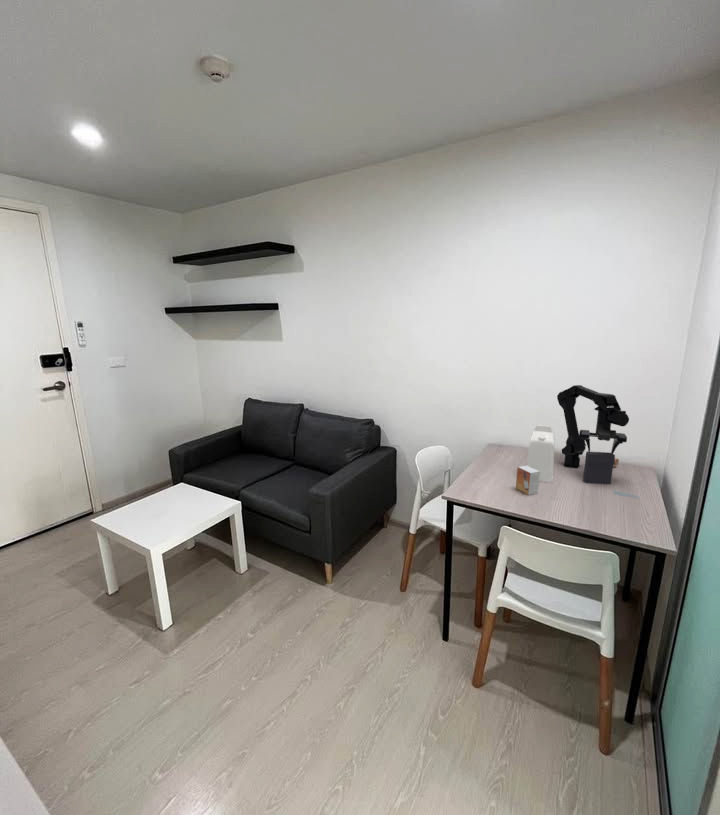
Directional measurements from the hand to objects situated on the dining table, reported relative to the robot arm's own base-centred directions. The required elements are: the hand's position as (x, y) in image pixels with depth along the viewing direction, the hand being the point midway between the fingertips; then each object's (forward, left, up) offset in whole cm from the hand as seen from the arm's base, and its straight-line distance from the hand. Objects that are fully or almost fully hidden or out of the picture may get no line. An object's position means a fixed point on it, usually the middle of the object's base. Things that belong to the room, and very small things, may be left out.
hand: (600, 453), depth 188 cm
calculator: (-1, -6, -13) cm, 15 cm away
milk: (-25, -9, -13) cm, 30 cm away
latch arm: (-4, +3, -13) cm, 14 cm away
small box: (-29, -29, -13) cm, 43 cm away
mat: (+10, -11, -13) cm, 20 cm away
